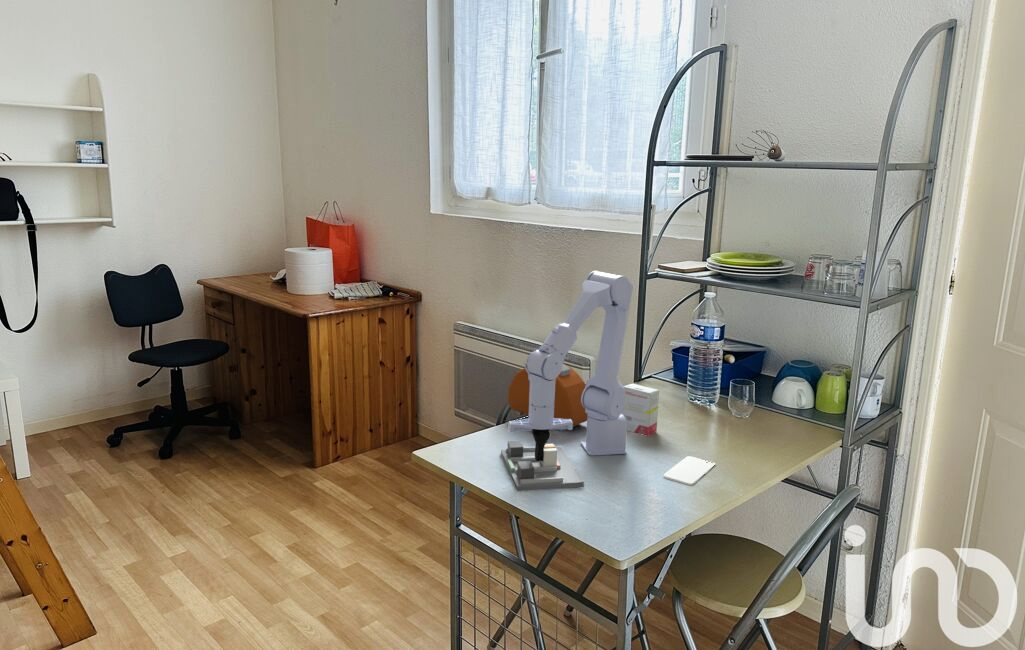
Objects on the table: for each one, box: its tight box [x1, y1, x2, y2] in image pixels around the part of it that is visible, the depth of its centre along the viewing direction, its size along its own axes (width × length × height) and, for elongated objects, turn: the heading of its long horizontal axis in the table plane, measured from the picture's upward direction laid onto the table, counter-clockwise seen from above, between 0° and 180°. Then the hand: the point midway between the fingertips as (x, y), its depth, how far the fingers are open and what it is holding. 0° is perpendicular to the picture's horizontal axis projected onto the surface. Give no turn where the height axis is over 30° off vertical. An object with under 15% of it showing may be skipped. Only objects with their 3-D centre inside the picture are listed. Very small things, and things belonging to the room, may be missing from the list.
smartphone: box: [663, 455, 716, 486], centre depth 177 cm, size 7×1×15 cm
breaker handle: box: [541, 443, 557, 467], centre depth 174 cm, size 3×4×4 cm
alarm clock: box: [507, 363, 587, 431], centre depth 205 cm, size 23×9×17 cm, turn 46°
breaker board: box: [500, 440, 585, 492], centre depth 174 cm, size 15×20×4 cm
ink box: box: [621, 383, 660, 437], centre depth 199 cm, size 9×5×12 cm, turn 51°
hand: (539, 459), depth 174 cm, fingers closed, pressing on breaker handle
